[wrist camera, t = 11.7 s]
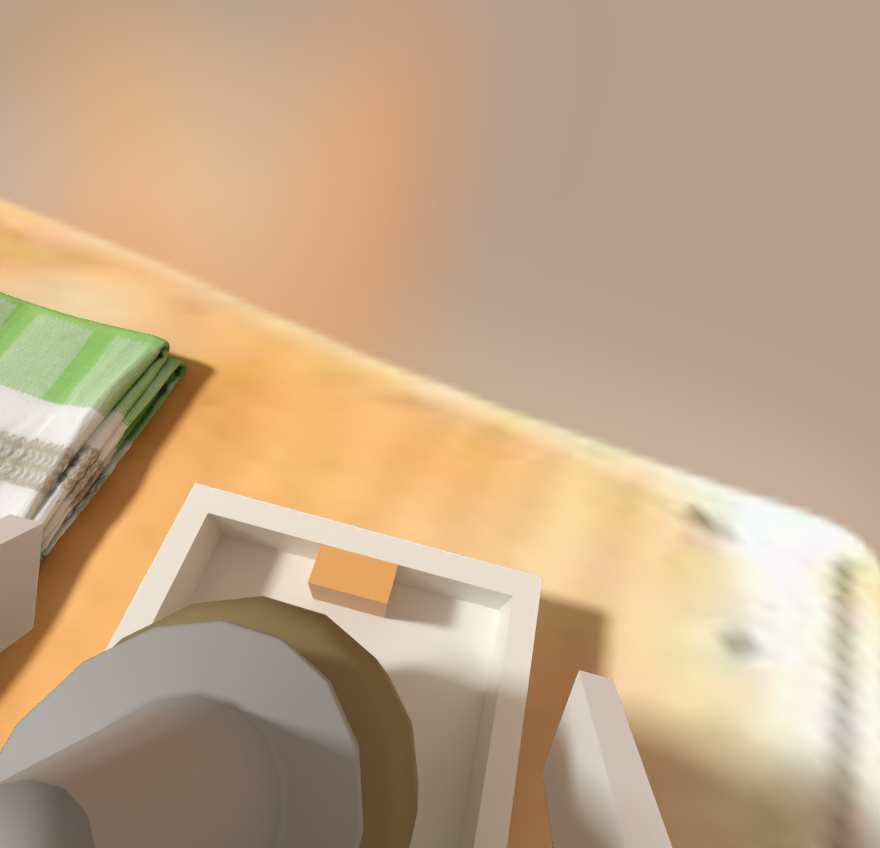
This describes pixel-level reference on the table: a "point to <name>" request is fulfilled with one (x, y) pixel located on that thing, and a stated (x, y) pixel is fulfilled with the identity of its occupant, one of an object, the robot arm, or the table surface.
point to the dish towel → (70, 408)
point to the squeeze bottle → (216, 741)
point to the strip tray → (380, 636)
